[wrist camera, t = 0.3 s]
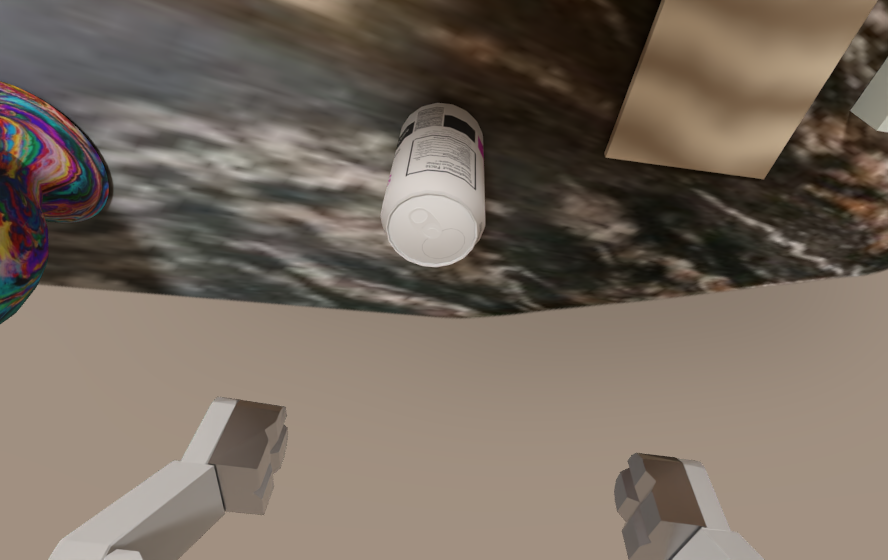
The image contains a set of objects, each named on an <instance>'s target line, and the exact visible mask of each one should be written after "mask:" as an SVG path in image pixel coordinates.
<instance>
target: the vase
mask: <svg viewBox="0 0 888 560" xmlns="http://www.w3.org/2000/svg"><path fill="white" fill-rule="evenodd" d="M108 193H109V184H108V178H107V174H106V170H105V168H104V165H103V163H102V161H101V159H100V157H99V155H98V154H97V152H96V150H95V149H94V147H93V146H92V145H91V143H90V142H89V141H88V139H87V138H86V137H85V136H84V135H83V133H82V132H81V131H80V130H79V129H78V128H77V127H76V126H75V125H74V124H73V123H72V122H71V121H70V120H69V119H67V118H66V117H65V116H64V115H63V114H61V113H60V112H59V111H57V110H56V109H55V108H53V107H52V106H51V105H49V104H48V103H46V102H45V101H43V100H41V99H40V98H38V97H36V96H34V95H33V94H31V93H29V92H27V91H25V90H22V89H20V88H18V87H15V86H13V85H10V84H7V83H5V82H1V81H0V324H1V323H3V322H4V321H5V320H7V319H8V318H10V317H11V316H12V315H14V314H15V313H16V312H17V311H18V310H19V308H20V307H21V306H22V305H23V304H24V302H25V301H26V300H27V299H28V297H29V296H30V295H31V293H32V292H33V290H35V288H36V287H37V285H38V283H39V281H40V278H41V276H42V274H43V271H44V269H45V267H46V264H47V261H48V229H47V224H46V221H48V222H58V223H74V222H80V221H84V220H87V219H89V218H92V217H93V216H95V215H96V214H98V213H99V212H100V211H101V210H102V209H103V207H104V205H105V204H106V201H107V198H108Z"/></svg>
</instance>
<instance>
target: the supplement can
mask: <svg viewBox="0 0 888 560" xmlns="http://www.w3.org/2000/svg"><path fill="white" fill-rule="evenodd" d="M380 216H381V221H382V225H383V230H384V232H385V233H386V235H387V236H388V241H389V242H390V244H391V245H392V247H393V248H394V250H395V251H396V252H397V253H398V254H400V255H401V256H402V257H404V258H405V259H406V260H407V261H410V262H413V263H415V264H418V265H421V266H429V267H440V266H446V265H451V264H453V263H455V262H457V261H459V260H461V259H463V258H464V257H465V256H466V255H467V254H468V253H469V252H470V251H471V250H472V249H473V247H474V245H475V244H476V243H477V242H478V241H479V240H480V238H481V236H482V233H483V231H484V228H485V188H484V148H483V134H482V131H481V129H480V127H479V125H478V122H477V121H476V120H475V119H474V118H473V117H472V116H471V115H470V114H469V113H468V112H467V111H466V110H463V109H461V108H459V107H457V106H455V105H453V104H444V103H434V104H430V105H426V106H422V107H421V108H419V109H418V110H416V111H415V112H413V113H412V114H410V116H409V117H408V118H407V120H406V121H405V123H404V124H403V126H402V128H401V133H400V137H399V141H398V145H397V149H396V153H395V157H394V161H393V165H392V169H391V173H390V177H389V181H388V185H387V189H386V193H385V197H384V201H383V206H382V211H381V215H380Z"/></svg>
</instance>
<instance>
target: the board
mask: <svg viewBox="0 0 888 560" xmlns="http://www.w3.org/2000/svg"><path fill="white" fill-rule="evenodd" d="M877 1H878V0H661V3H660V6H659V8H658V11H657V14H656V16H655V19H654V22H653V24H652V27H651V30H650V32H649V35H648V38H647V40H646V43H645V46H644V48H643V51H642V54H641V56H640V59H639V62H638V64H637V67H636V70H635V72H634V75H633V78H632V80H631V83H630V86H629V88H628V91H627V94H626V96H625V99H624V102H623V104H622V107H621V110H620V112H619V115H618V118H617V120H616V123H615V126H614V128H613V131H612V134H611V137H610V139H609V142H608V145H607V147H606V150H605V153H604V155H605V157H606V158H613V159H620V160H627V161H635V162H642V163H649V164H657V165H664V166H671V167H678V168H686V169H693V170H700V171H708V172H715V173H722V174H729V175H737V176H744V177H751V178H759V179H764V178H765V176H766V175H767V173H768V172H769V170H770V169H771V167H772V166H773V164H774V162H775V161H776V159H777V158H778V156H779V155H780V153H781V151H782V150H783V148H784V147H785V145H786V144H787V142H788V140H789V139H790V137H791V136H792V134H793V133H794V131H795V129H796V128H797V126H798V125H799V123H800V122H801V120H802V118H803V117H804V115H805V114H806V112H807V111H808V109H809V107H810V106H811V104H812V103H813V101H814V100H815V98H816V96H817V95H818V93H819V92H820V90H821V89H822V87H823V85H824V84H825V82H826V81H827V79H828V78H829V76H830V74H831V73H832V71H833V70H834V68H835V67H836V65H837V63H838V62H839V60H840V59H841V57H842V56H843V54H844V52H845V51H846V49H847V48H848V46H849V45H850V43H851V42H852V40H853V38H854V37H855V35H856V34H857V32H858V31H859V29H860V27H861V26H862V24H863V23H864V21H865V20H866V18H867V16H868V15H869V13H870V12H871V10H872V9H873V7H874V5H875V4H876V2H877Z"/></svg>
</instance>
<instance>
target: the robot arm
mask: <svg viewBox="0 0 888 560" xmlns="http://www.w3.org/2000/svg"><path fill="white" fill-rule="evenodd" d="M286 416H287V414H286V407H284V406H278V405H271V404H264V403H258V402H251V401H244V400H239V399H232V398H224V397H217V398H216V399H215V400H214V401H213V402H212V403H211V405H210V407H209V409H208V410H207V412H206V414H205V416H204V418H203V420H202V422H201V424H200V426H199V428H198V429H197V431H196V433H195V435H194V437H193V439H192V441H191V442H190V444H189V446H188V448H187V450H186V452H185V454H184V455H183V457H182V460H181V461H177V460H173V461H172V462H170V463H169V464H168V465H166V466H165V467H163V468H162V469H161V470H159V471H158V472H156V473H155V474H153V475H152V476H151V477H149V478H148V479H146V480H145V481H144V482H142V483H141V484H139V485H138V486H137V487H135V488H134V489H132V490H131V491H130V492H128V493H127V494H125V495H124V496H122V497H121V498H120V499H118V500H117V501H115V502H114V503H112V504H111V505H110V506H108V507H107V508H105V509H104V510H103V511H101V512H100V513H98V514H97V515H95V516H94V517H93V518H91V519H90V520H88V521H87V522H85V523H84V524H83V525H81V526H80V527H79V528H77V529H76V530H74V531H73V532H71V533H70V534H68V535H67V536H66V537H64V538H63V539H61V540H60V542H59V544H58V545H57V546H56V548H55V550H54V551H53V553H52V554H51V556H50V557H49V559H48V560H178V559H179V558H180V557H181V556H182V555H183V554H184V553H185V552H186V551H187V550H188V549H189V548H190V547H191V546H192V545H193V544H194V543H195V542H197V541H198V539H200V538H201V537H202V536H203V535H204V534H205V533H206V532H207V531H208V530H209V529H210V528H211V527H212V526H213V525H214V524H215V523H216V522H217V521H218V520H219V519H220V518H221V517H222V516H223V515H224V514H225V511H226V512H237V513H247V514H258V515H264V514H265V511H266V508H267V505H268V502H269V499H270V496H271V494H272V491H273V488H274V483H273V474H274V473H275V472H277V471H278V470H279V469H280V468H281V464H282V462H283V458H284V455H285V450H286V446H287V440H288V429H287V427H286V426H285V425H284V422H285V419H286ZM628 464H629V468H628V469H625V470H623V471H622V472H620V474H619V476H618V478H617V479H616V484H615V490H614V495H615V503H616V508H617V512H618V513H619V514H620V515H621V517H622V518H623V519H624V520H625V521H626V523H625V525H624V527H623V529H622V534H623V538H624V542H625V546H626V550H627V555H628V559H629V560H764V559H763V558H762V557H761V556H760V555H759V553H758V552H757V551H756V550H755V549H754V548H753V547H752V546H751V545H750V544H749V543H748V542H747V541H746V540H745V539H744V538H742V536H741V535H740V534H739V533H738V532H734V531H731V530H730V527H729V525H728V522H727V520H726V518H725V515H724V513H723V510H722V508H721V506H720V503H719V501H718V499H717V496H716V494H715V491H714V489H713V487H712V484H711V482H710V479H709V477H708V474H707V472H706V470H705V467H704V466H703V465H702V463H701V462H698V461H695V460H686V459H677V458H675V457H667V456H658V455H650V454H641V453H635V454H633V455H631V457H630V458H629V460H628Z"/></svg>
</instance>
